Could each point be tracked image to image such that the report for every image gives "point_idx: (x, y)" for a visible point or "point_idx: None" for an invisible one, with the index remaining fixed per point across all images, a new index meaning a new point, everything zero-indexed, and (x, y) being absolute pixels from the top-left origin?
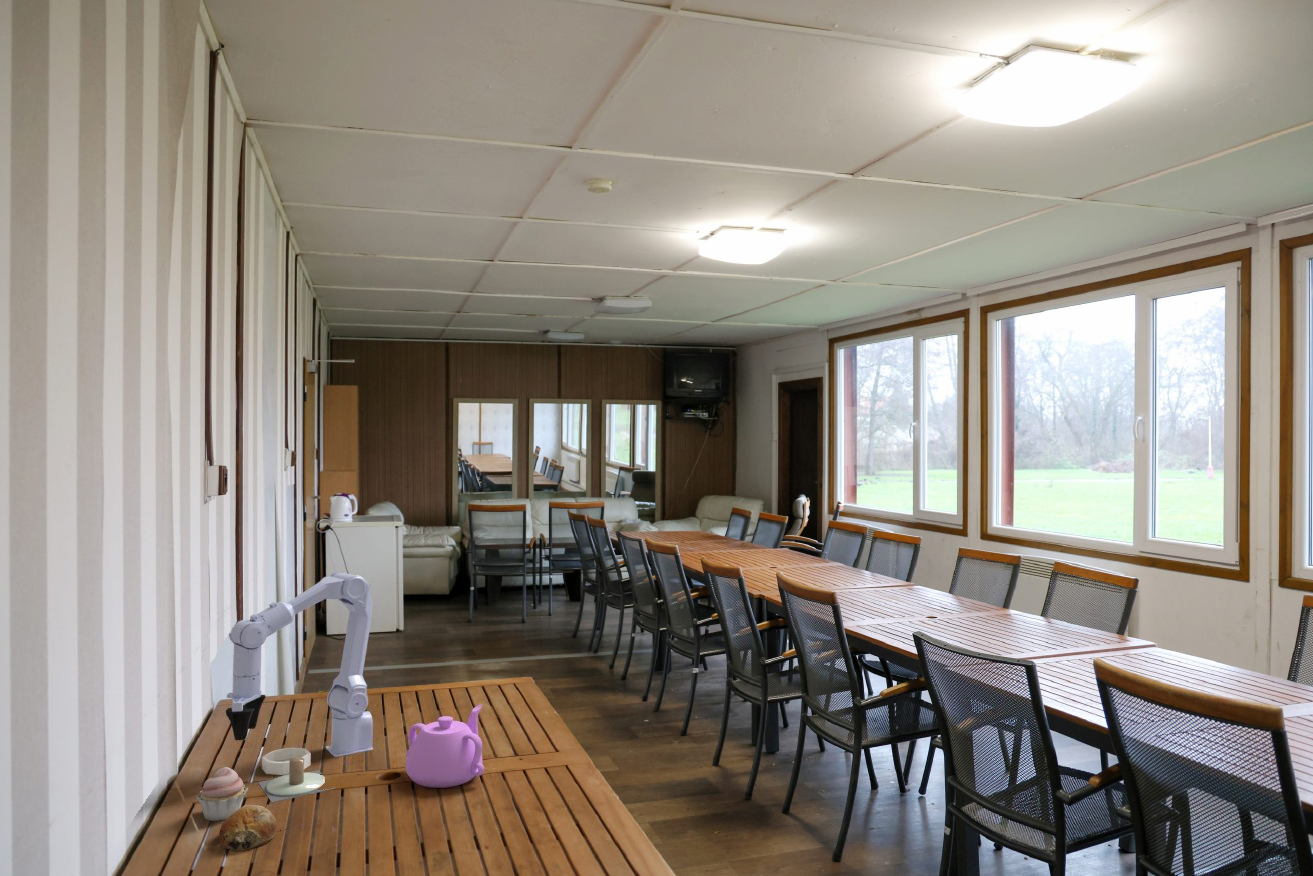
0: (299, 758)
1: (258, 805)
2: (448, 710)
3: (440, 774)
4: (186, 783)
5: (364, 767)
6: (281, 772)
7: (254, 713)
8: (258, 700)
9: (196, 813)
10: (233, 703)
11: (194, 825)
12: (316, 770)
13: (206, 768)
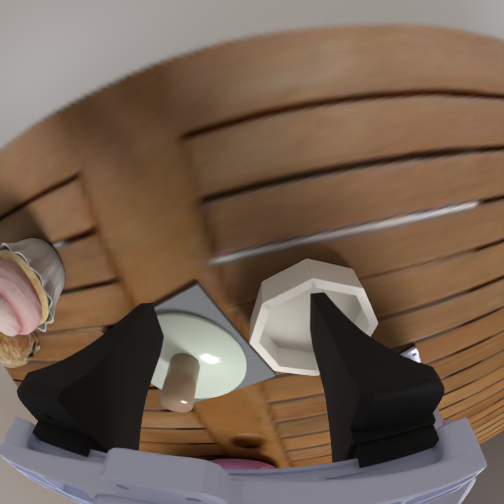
0: (186, 406)
1: (3, 360)
2: (486, 411)
3: None
4: (204, 77)
5: (290, 418)
6: (250, 324)
7: (326, 384)
8: (335, 460)
9: (39, 211)
10: (2, 455)
11: (9, 233)
12: (273, 373)
13: (336, 87)
